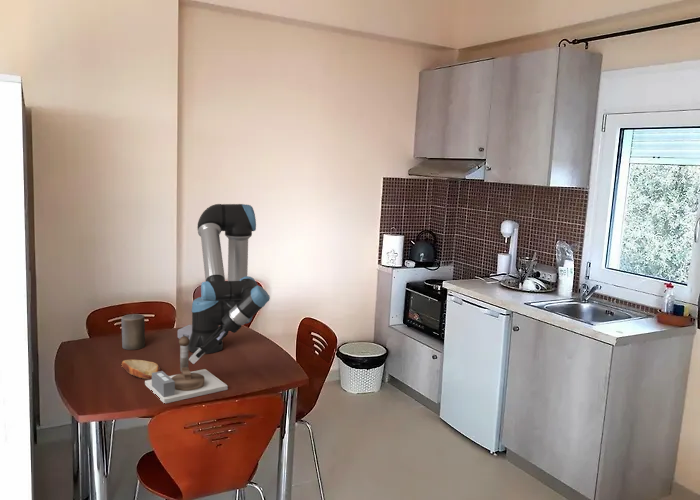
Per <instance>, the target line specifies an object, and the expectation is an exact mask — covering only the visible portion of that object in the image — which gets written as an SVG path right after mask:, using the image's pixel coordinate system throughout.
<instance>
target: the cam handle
mask: <svg viewBox="0 0 700 500" xmlns="http://www.w3.org/2000/svg"><path fill="white" fill-rule="evenodd" d="M189 343H190V340H189V338H188V337H186V336H183V337H181V338H180V339H179V338H178V345H179V368H180V369H179V371H180V372H181V373H177V374H178V375H177V374H174V375H175V376H173V377H172V378H171V379H172V380H173V381H175V389H177V390H193V389H197V388H200V387H202V386H203V385H204V376H203V375H201V374H198V373H190V372H191V371H190V368H189V360H188V359H189V350H188V345H189Z"/></svg>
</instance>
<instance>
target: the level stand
mask: <svg viewBox="0 0 700 500" xmlns="http://www.w3.org/2000/svg"><path fill="white" fill-rule="evenodd" d="M190 373H198V374H201V375H203V376H204V385H203V386H202V387H200V388H197V389H193V390H177V389H175V381H173V380H172V379H171V378H172V377H173V376H175V375H178V374H179V373H177V374H172V375H168V374H166V372H164V371H163V370H161V371H160V372H154V373H152V379H146V380H144V385H145V386H146V388H148V389H149V390H150V391H151V390H152V391H153V392H152V391H151V392H152V393H153V394H154V395H155V394H156V395H157V396H158V397H159V398H160V399H159V398H158V397H157V396H156V395H155V396H156V397H157V398H158V399H159V400H160V402H162V403H163V404H164V403H165V404H170V403H173V402H178V401H183V400H186V399H191V398H196V397H199V396H205V395H208V394H209V395H210V394H214V393H219V392H222V391H223V392H224V391H227V390H229V388H228V387H229V386H228V385H227V383H225V382H223V381H222V380H220V379H219V378H218V377H216V376H215V375H214V374H213V373H211V372H210V371H209V370H207V369H206V368H203V369H199V370H198V369H197V370H194V371H190Z"/></svg>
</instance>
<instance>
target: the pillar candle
mask: <svg viewBox="0 0 700 500" xmlns="http://www.w3.org/2000/svg"><path fill="white" fill-rule="evenodd" d="M120 319H121V320H120V321H121V345H122V349H124V350H130V351H133V350H140V349H144V348H145V347H146V336H145V333H146V330H145V326H146V325H145V323H146V322H145V315H143V314H140V313H132V314H130V313H129V314H126V315H123V316H121V318H120Z"/></svg>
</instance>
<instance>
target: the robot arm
mask: <svg viewBox="0 0 700 500" xmlns="http://www.w3.org/2000/svg"><path fill="white" fill-rule="evenodd" d="M256 219H257V218H256V213H255V210H254V208H253V206H252V205H251V204H244V203H223V204H222V203H217V204H212V205H209V207H207V208H206V209H205V210H203V212H202V213H201V214H200V217H199V218H198V222H197V227H196V228H197V233H198V236H199V237H200V240H201V250H202V261H203V269H204V280H205V281H202V282H201V284H200V294H201V295H200V296H199V297H197V298H195V299H193V301H192V305H191V325H192V334H191V337H190V343H189V345H188V352H191V353H192V354H191V355H190V356H188V362H190V363H192V364H193V365H195V363H197V362H198V361H199V360H200V358H202V357H203V356H204V355H207V354H213V353H217V352H221V351H222V350H223V348H224V343H223V339H224V338H226V337H227V336H228V333H229V332H231V333H233V334H234V333H237V332H238V331H239V330H240V329H241V328H242V326H244V325H246V324H249V323H251V321H252V320H253V317H254V316H255V315H256V314H257V313H258V312H259V311H260V310H261V309H262V308H264V307H265V305H266V304H267V303H268V302H269V301H270V300H271V296H270V295H269V293H268V292H267V290H266V289H264V288H263V287H262V286H260V285H258V282H257V281H256V280H255V279H254V278H253V277H252V276H249V275H248V267H249V263H248V261H249V239H250V238H251V237H252V234H253V232H255V231H256V230H257V222H256V221H257V220H256ZM221 232H224V235H225V237H226V238H227V239H228V240H227V241H228V242H227V243H228V244H227V246H228V248H227V250H228V251H227V253H228V254H227V280H226V277H225V269H224V262H223V252H222V247H221V236H220V235H221V234H222V233H221Z"/></svg>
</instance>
